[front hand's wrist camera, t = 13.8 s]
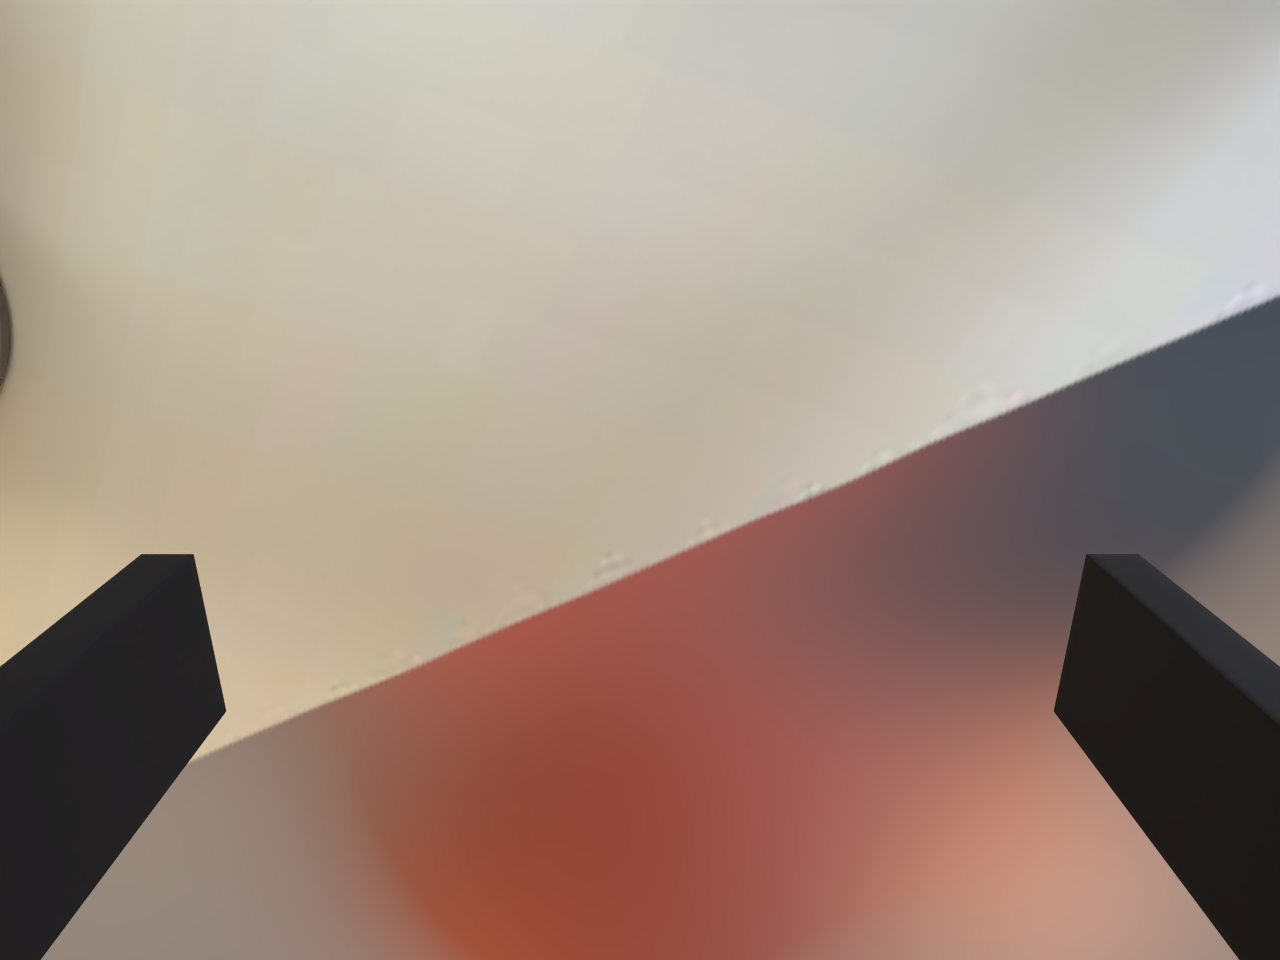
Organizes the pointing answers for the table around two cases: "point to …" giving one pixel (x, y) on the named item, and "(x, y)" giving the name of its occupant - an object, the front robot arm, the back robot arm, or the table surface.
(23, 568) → the table surface
